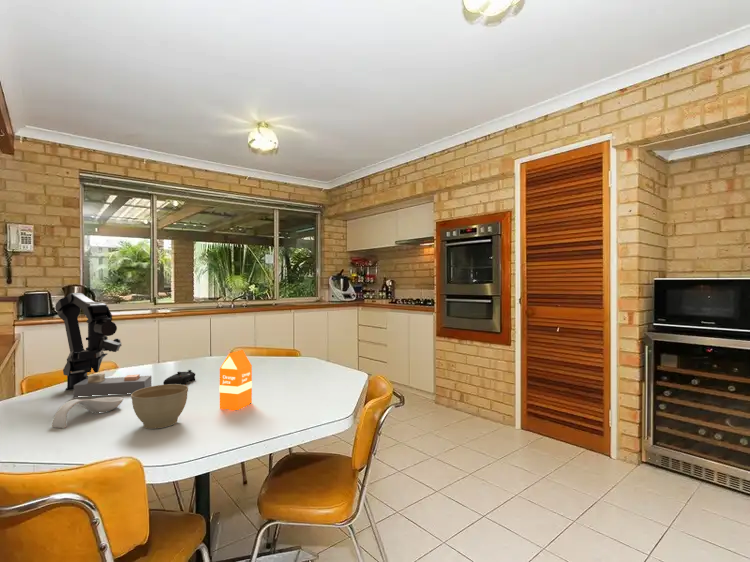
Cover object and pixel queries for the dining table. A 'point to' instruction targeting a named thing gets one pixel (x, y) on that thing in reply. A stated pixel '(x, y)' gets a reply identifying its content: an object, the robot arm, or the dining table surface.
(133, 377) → the terracotta key
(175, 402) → the planter bowl
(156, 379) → the dining table surface
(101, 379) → the ash key
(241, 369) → the orange juice
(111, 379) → the key housing
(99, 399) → the spoon rest
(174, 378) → the gaming controller
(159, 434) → the dining table surface
